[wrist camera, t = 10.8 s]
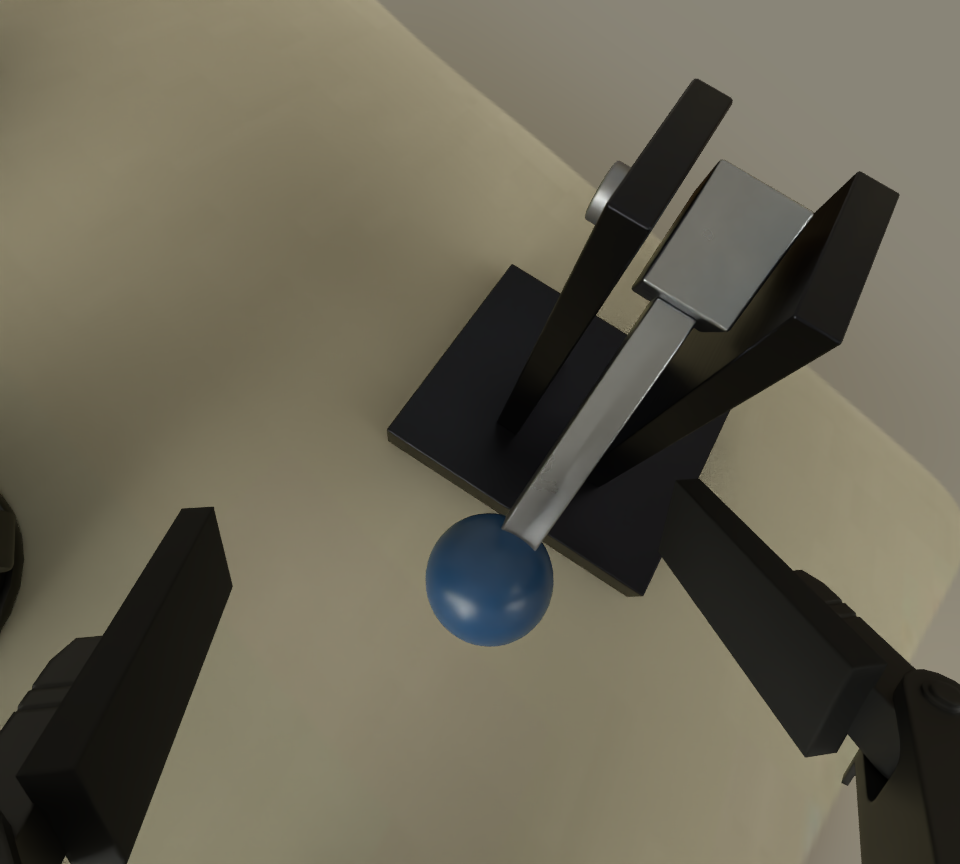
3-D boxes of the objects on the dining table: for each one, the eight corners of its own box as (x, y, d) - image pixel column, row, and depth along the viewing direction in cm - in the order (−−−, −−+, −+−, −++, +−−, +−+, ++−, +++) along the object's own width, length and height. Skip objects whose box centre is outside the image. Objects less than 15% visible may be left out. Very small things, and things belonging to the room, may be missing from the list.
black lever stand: (627, 597, 21) (988, 590, 8) (387, 440, 22) (359, 199, 9) (716, 412, 24) (1070, 195, 11) (506, 282, 25) (613, -62, 12)
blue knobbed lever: (517, 623, 16) (500, 701, 13) (424, 562, 17) (384, 622, 13) (788, 253, 13) (865, 223, 9) (667, 181, 13) (699, 127, 10)
